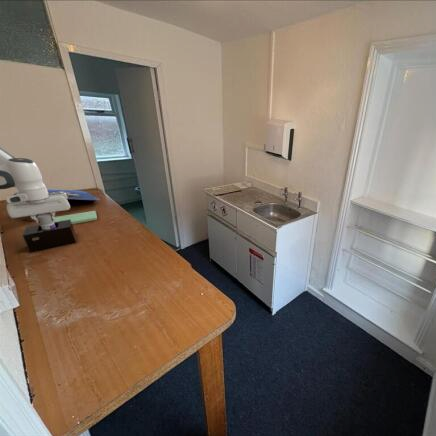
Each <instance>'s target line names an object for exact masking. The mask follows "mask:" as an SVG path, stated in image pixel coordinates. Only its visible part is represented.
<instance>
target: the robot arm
mask: <svg viewBox="0 0 436 436" xmlns="http://www.w3.org/2000/svg"><path fill="white" fill-rule="evenodd" d="M11 188H16V189H17V192H14V193H11V194H9V195H8V196H6V198H5V201H6V203H7V204H6V211H7V214H8V216H9V218H12V219H18V218H24V217H25V216H31V218H32V219H34V220H36V225H39V224H40V222H39V220H38V218H36V217H35V216H36V215H38V216H39V215H42V214H50V215H51V217H52V218H51V219H52V221H55V218H54V217H56V213H57V212H63V211H69V210H70V209H71V205H70V202H69V201H68V200H69V199H68V196H67V194H66V193H64V192H52V193H48V190H47V189H48V188H47V186H46V184H45V183H44V180H43V176H42V173H41V171H40V169H39V167H38V165H37V164H36V162H35V161H33V159H29V158H26V157H25V158H24V157H15V156H13V155H12V154H11V153H9V152H8V151H6V150H5V149H3V148H2V147H0V190H7V189H11ZM49 195H50V196H49Z"/></svg>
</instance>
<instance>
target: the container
mask: <svg viewBox="0 0 436 436" xmlns="http://www.w3.org/2000/svg"><path fill="white" fill-rule="evenodd" d="M37 217H38V220H39V222H40V223H39V225H41V228H42V230H48V229H53V228H56V226H55V224H54V222H53V221H52V219H51V218H52V214H51V213H44V214H38V216H37Z"/></svg>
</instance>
